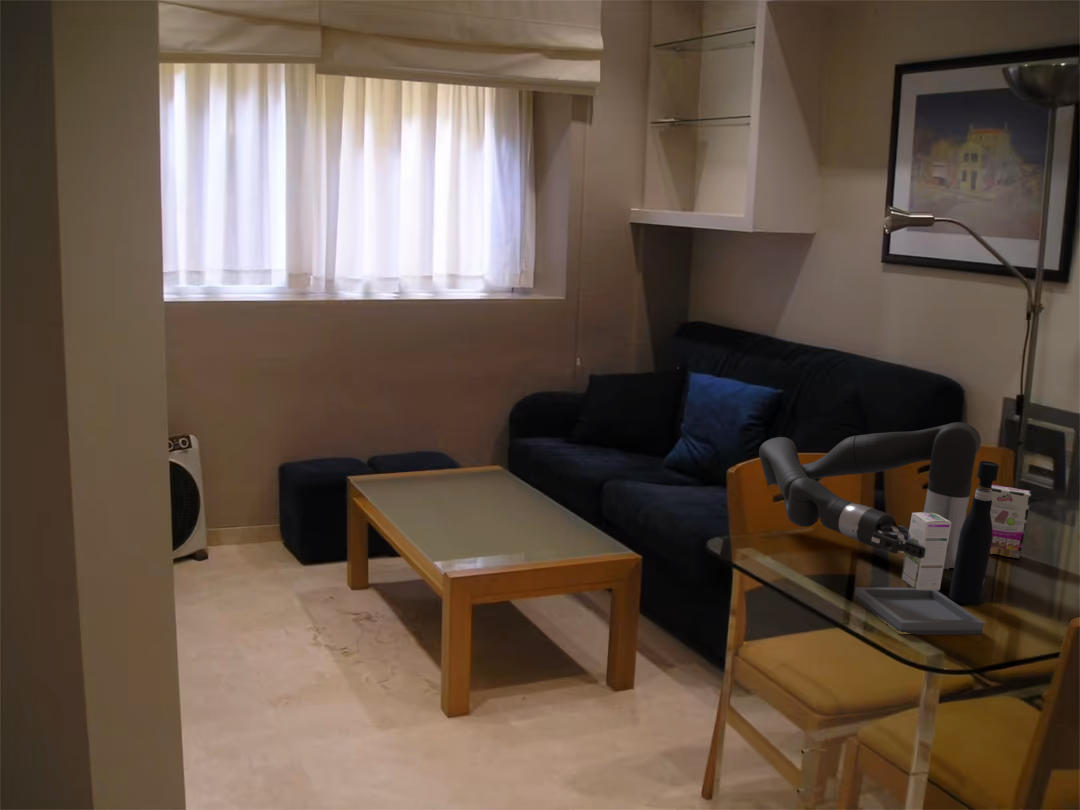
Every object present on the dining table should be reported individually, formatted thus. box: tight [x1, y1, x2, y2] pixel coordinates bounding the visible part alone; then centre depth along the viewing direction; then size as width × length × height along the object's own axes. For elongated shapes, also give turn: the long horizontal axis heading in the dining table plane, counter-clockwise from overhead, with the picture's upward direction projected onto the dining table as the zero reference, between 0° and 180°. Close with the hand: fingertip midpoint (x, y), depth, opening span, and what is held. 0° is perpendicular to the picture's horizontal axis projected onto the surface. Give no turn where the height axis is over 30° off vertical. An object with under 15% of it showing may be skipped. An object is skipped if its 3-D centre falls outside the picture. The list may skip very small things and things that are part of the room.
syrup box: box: [900, 511, 951, 591], centre depth 218 cm, size 6×6×14 cm
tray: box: [853, 586, 985, 636], centre depth 221 cm, size 18×18×2 cm
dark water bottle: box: [948, 460, 1000, 606], centre depth 231 cm, size 6×6×30 cm
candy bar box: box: [990, 484, 1032, 552], centre depth 267 cm, size 11×5×16 cm, turn 68°
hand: (935, 550), depth 217 cm, fingers closed on syrup box, 7 cm apart
